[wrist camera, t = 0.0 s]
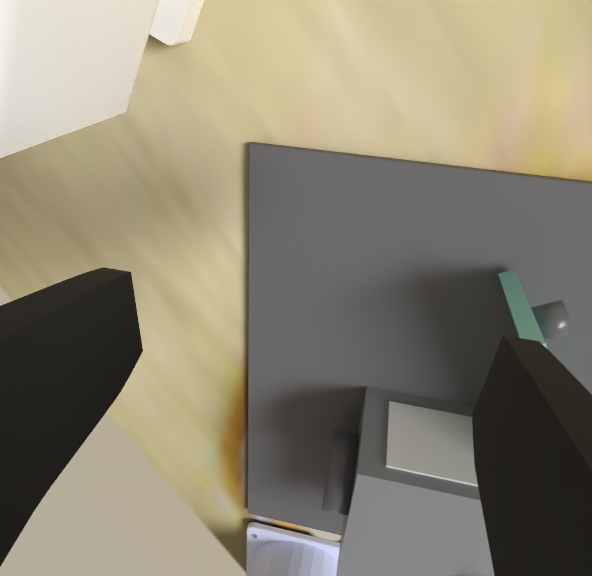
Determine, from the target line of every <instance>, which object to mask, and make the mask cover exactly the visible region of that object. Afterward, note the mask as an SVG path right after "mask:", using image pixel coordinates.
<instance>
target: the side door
mask: <svg viewBox="0 0 592 576" xmlns="http://www.w3.org/2000/svg"><path fill="white" fill-rule="evenodd" d="M498 275H499V278H500V281H501V284H502V287H503V290H504V293H505V296H506V300H507V303H508V306H509V309H510V312H511V315H512V318H513V321H514V325H515V328H516V331H517V334H518V337H519V338H523V339H529V340H535V341H539V342H540V343H542V344H543V345H544V346H545V347H546V348H547V346H546V343H545V340H550V339H554V338H559V337H563V336H568V335H572V334H574V331H573V327H572V323H571V320H570V317H569V314H568V312H567V309H566V307H565V305H564V303H563V301H562V300H559V301H555V302H551V303H547V304H543V305H539V306H535V307H530V304H529V302H528V299H527V297H526V295H525V292H524V290H523V287H522V285H521V283H520V280H519V278H518V275H517V273H516V271H515V269H512V270H509V271H505V272H502V273H498Z"/></svg>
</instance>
